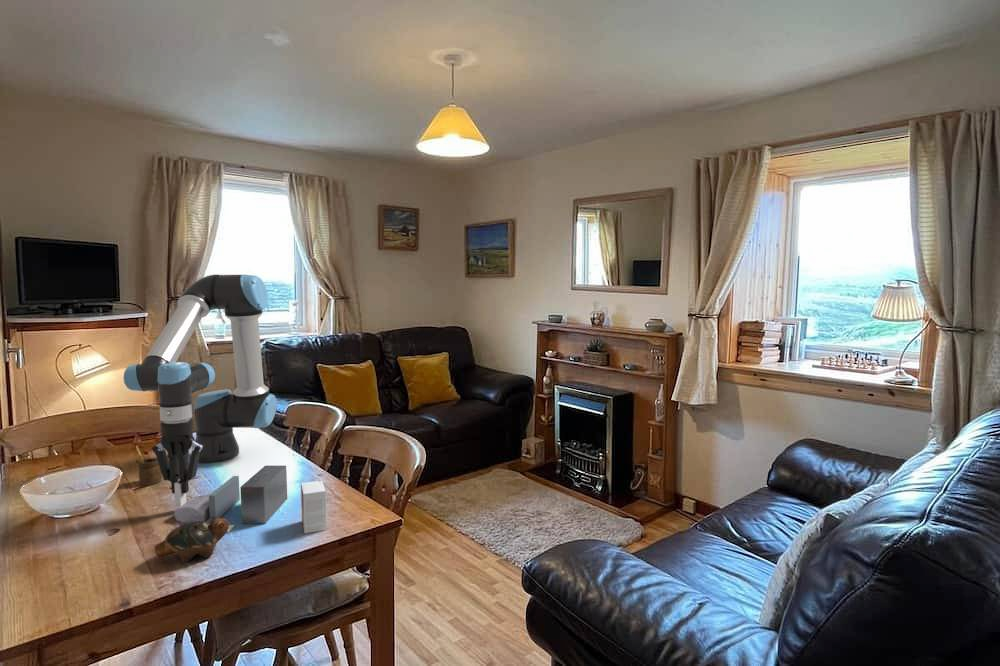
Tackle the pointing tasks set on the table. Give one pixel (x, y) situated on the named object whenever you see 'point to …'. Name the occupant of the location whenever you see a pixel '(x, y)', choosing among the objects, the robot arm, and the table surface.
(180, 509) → the stone block
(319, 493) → the small box
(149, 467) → the utensil holder
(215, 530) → the decorative turtle
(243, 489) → the dark gray block
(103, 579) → the table surface
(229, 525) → the pale flat strip
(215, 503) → the gauge plate
